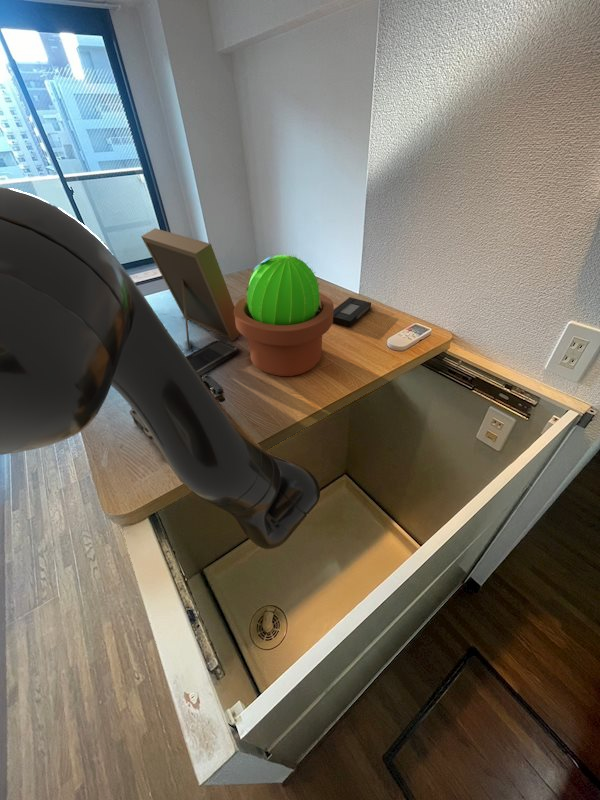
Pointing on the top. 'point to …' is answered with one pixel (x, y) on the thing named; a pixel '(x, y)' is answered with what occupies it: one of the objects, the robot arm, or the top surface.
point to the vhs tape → (350, 311)
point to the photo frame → (193, 281)
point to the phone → (211, 356)
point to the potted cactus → (284, 316)
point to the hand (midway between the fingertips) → (160, 384)
